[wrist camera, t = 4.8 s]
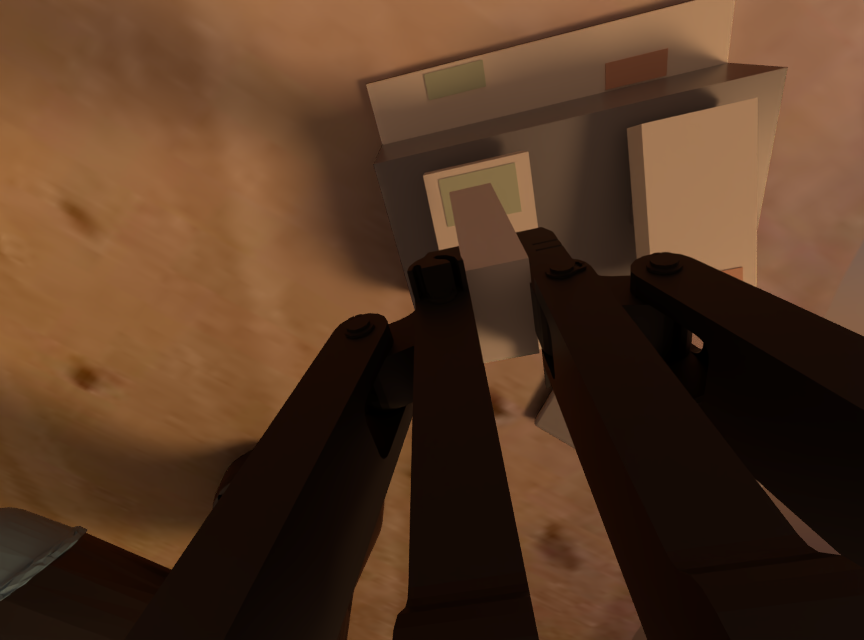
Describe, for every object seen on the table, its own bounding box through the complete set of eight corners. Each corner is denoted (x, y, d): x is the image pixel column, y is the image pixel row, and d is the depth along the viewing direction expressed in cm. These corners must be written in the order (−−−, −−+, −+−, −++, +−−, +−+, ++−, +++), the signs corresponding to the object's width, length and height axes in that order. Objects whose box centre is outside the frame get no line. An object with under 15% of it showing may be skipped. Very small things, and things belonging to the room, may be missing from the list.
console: (423, 295, 30) (422, 349, 25) (367, 83, 23) (348, 96, 18) (700, 240, 28) (762, 287, 22) (728, -9, 21) (828, -26, 16)
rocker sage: (462, 348, 23) (463, 363, 22) (424, 172, 20) (422, 175, 18) (546, 333, 23) (553, 347, 21) (522, 150, 19) (528, 151, 18)
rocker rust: (641, 320, 22) (655, 331, 20) (626, 128, 19) (641, 124, 18) (735, 304, 21) (757, 314, 20) (733, 104, 19) (758, 97, 17)
